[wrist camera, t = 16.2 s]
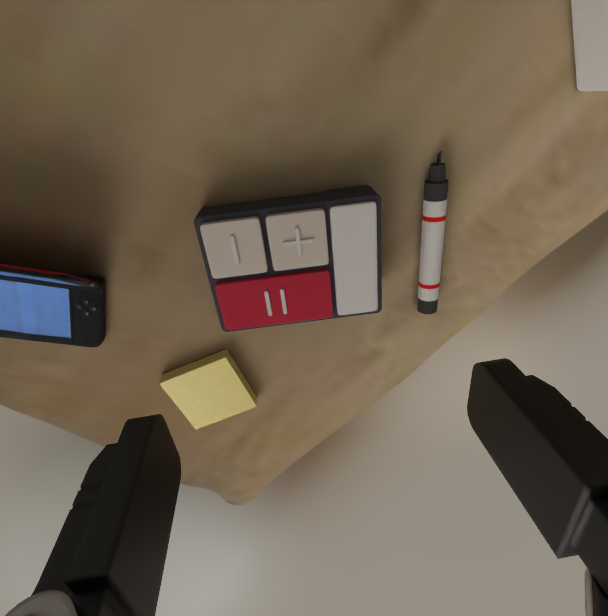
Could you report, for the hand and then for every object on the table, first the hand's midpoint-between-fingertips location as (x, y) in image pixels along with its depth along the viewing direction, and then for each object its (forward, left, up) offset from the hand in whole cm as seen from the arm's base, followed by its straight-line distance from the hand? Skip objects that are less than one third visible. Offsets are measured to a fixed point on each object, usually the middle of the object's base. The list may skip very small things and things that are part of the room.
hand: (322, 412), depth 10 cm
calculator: (+6, +1, -26) cm, 27 cm away
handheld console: (+5, -23, -26) cm, 35 cm away
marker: (+6, +14, -26) cm, 30 cm away
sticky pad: (+20, -10, -26) cm, 34 cm away
